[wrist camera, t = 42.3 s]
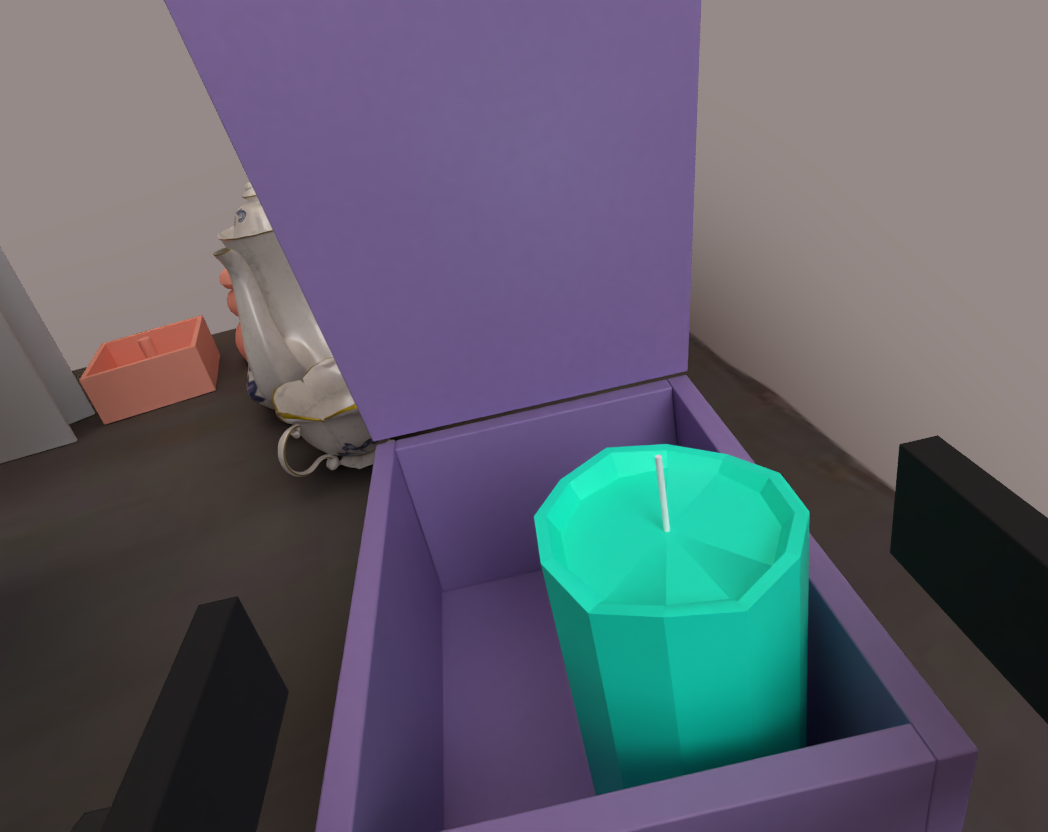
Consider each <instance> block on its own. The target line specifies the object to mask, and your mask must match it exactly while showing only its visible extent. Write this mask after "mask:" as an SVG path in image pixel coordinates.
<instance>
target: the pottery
mask: <svg viewBox="0 0 1048 832" xmlns="http://www.w3.org/2000/svg"><path fill="white" fill-rule="evenodd" d="M220 283H221V284H222V285H223V286H224V287H226V288H228V289H232V290H231V291H230V292H229V293H228V297H227V304H228V307H229V309H230V310H231V312H233V313H234V314H235V315H236V316H239V314H238V309H237V304H236V299H235V294H234V290H233V285H232V282H231V278H230V276H229V273H228V271H227V270H226V268H225V269H224V270H223V271H222V273H221V275H220ZM235 341H236V346H237V348H238V350H239V352H240V353H241V354H242V356H243V357H244V358H245V360H246V361H247V362H248V360H247V357H246V353H245V349H244V344H243V337H242V331H241V325H240V322H239V324H238V326H237V329H236V335H235ZM219 360H220V353H219V351H218V349H217V347H216V344H215V342H214V340H213V338H212V336H211V333H210V331H209V329H208V327H207V324H206V322H205V320H204V318H203V316H202V315H201V316H198V317H194V318H190V319H187V320H183V321H180V322H177V323H173V324H170V325H166V326H163V327H159V328H155V329H152V330H148V331H145V332H141V333H138V334H134V335H131V336H127V337H124V338H120V339H117V340H113V341H110V342H106V343H103V344H101V346H100V347H99V349H98V350H97V352H96V354H95V355H94V357H93V359H92V360H91V362H90V363H89V365H88V367H87V368H86V370H85V372H84V373H83V375H82V376H81V378H80V380H79V381H80V383H81V384H82V386H83V388H84V390H85V391H86V393H87V395H88V397H89V398H90V400H91V402H92V404H93V405H94V407H95V409H96V411H97V412H98V414H99V416H100V418H101V419H102V421H103V423H104V425H106V424H109V423H112V422H115V421H118V420H122V419H125V418H128V417H131V416H135V415H138V414H141V413H144V412H148V411H151V410H154V409H157V408H160V407H164V406H167V405H170V404H173V403H177V402H180V401H183V400H186V399H189V398H193V397H196V396H199V395H202V394H206V393H209V392H212V391H215V390H216V384H217V376H218V368H219Z"/></svg>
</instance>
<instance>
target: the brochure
mask: <svg viewBox="0 0 1048 832" xmlns="http://www.w3.org/2000/svg"><path fill="white" fill-rule="evenodd" d="M94 414H95V411H94V410H93V408H92V406H91V404H90V403H89V401H88V399H87V397H86V396H85V394H84V392H83V390H82V389H81V387H80V385H79V383H78V382H77V380H76V378H75V376H74V375H73V373H72V371H71V369H70V368H69V366H68V364H67V363H66V361H65V359H64V357H63V356H62V354H61V352H60V350H59V349H58V347H57V345H56V343H55V341H54V340H53V338H52V336H51V335H50V333H49V331H48V329H47V328H46V326H45V324H44V322H43V321H42V319H41V317H40V315H39V314H38V312H37V310H36V308H35V307H34V305H33V303H32V301H31V300H30V298H29V296H28V294H27V293H26V291H25V289H24V287H23V286H22V284H21V282H20V281H19V279H18V277H17V275H16V273H15V272H14V270H13V268H12V267H11V265H10V263H9V261H8V259H7V258H6V256H5V254H4V253H3V251H2V249H1V247H0V464H1V463H4V462H8V461H11V460H14V459H18V458H21V457H25V456H28V455H32V454H35V453H39V452H42V451H46V450H49V449H53V448H56V447H60V446H63V445H66V444H70V443H73V442H77V440H78V439H77V438H76V436H75V434H74V433H73V431H72V429H71V428H70V426H69V424H71V423H74V422H76V421H79V420H81V419H84V418H86V417H89V416H92V415H94Z"/></svg>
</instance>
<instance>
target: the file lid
mask: <svg viewBox="0 0 1048 832" xmlns="http://www.w3.org/2000/svg"><path fill="white" fill-rule="evenodd" d="M164 1H165V3H166V6H167V8H168V10H169V12H170V14H171V16H172V18H173V20H174V22H175V25H176V27H177V29H178V31H179V33H180V35H181V37H182V39H183V41H184V44H185V46H186V48H187V50H188V52H189V54H190V56H191V58H192V60H193V63H194V64H195V67H196V69H197V71H198V73H199V75H200V77H201V79H202V82H203V83H204V86H205V88H206V90H207V92H208V94H209V96H210V98H211V100H212V103H213V105H214V107H215V109H216V111H217V113H218V115H219V117H220V119H221V122H222V124H223V126H224V128H225V130H226V132H227V134H228V136H229V138H230V140H231V142H232V145H233V147H234V149H235V151H236V153H237V155H238V157H239V160H240V162H241V164H242V166H243V168H244V170H245V172H246V174H247V176H248V178H249V181H250V183H251V185H252V187H253V189H254V191H255V193H256V195H257V197H258V200H259V202H260V204H261V206H262V208H263V210H264V212H265V214H266V216H267V219H268V221H269V223H270V225H271V227H272V229H273V231H274V233H275V235H276V238H277V240H278V242H279V244H280V246H281V248H282V250H283V252H284V254H285V256H286V259H287V261H288V263H289V265H290V267H291V269H292V271H293V273H294V275H295V278H296V280H297V282H298V284H299V286H300V288H301V290H302V292H303V294H304V297H305V299H306V301H307V303H308V305H309V307H310V309H311V311H312V313H313V316H314V318H315V320H316V322H317V324H318V326H319V328H320V330H321V332H322V334H323V337H324V339H325V341H326V343H327V345H328V347H329V349H330V351H331V353H332V356H333V358H334V360H335V362H336V364H337V366H338V368H339V370H340V372H341V375H342V377H343V379H344V381H345V383H346V385H347V387H348V389H349V391H350V394H351V396H352V398H353V400H354V402H355V404H356V406H357V408H358V410H359V412H360V415H361V417H362V419H363V421H364V423H365V425H366V427H367V429H368V431H369V434H370V436H371V438H372V440H373V441H378V440H383V439H387V438H392V437H396V436H401V435H405V434H409V433H414V432H418V431H423V430H427V429H432V428H436V427H440V426H445V425H449V424H454V423H458V422H463V421H467V420H471V419H476V418H480V417H485V416H489V415H494V414H498V413H502V412H507V411H511V410H516V409H520V408H525V407H529V406H533V405H538V404H542V403H547V402H551V401H556V400H560V399H564V398H569V397H573V396H578V395H582V394H587V393H591V392H595V391H600V390H604V389H609V388H613V387H618V386H622V385H627V384H631V383H635V382H640V381H644V380H649V379H653V378H658V377H662V376H666V375H671V374H675V373H680V372H684V371H687V370H688V344H689V317H690V289H691V263H692V262H691V261H692V236H693V209H694V181H695V155H696V127H697V126H696V125H697V99H698V72H699V45H700V18H701V0H164Z"/></svg>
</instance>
